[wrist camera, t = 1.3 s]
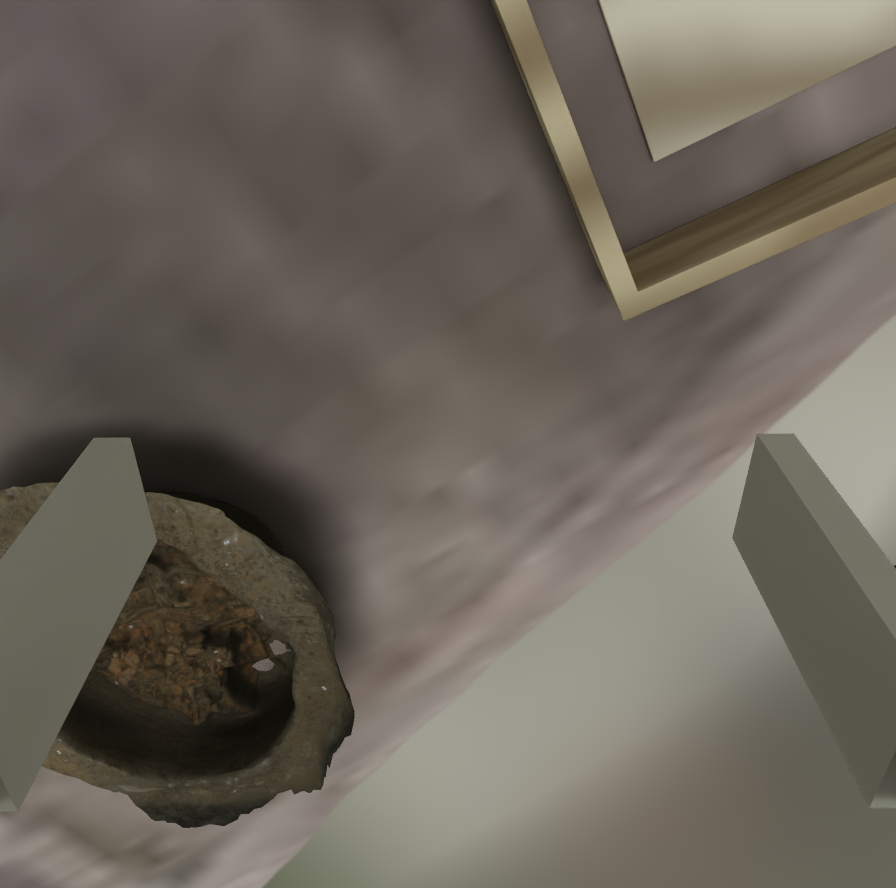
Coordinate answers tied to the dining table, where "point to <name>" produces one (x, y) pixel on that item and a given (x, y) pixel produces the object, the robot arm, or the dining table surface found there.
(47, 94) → the dining table surface
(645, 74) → the arena
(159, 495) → the stone bowl
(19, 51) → the dining table surface
